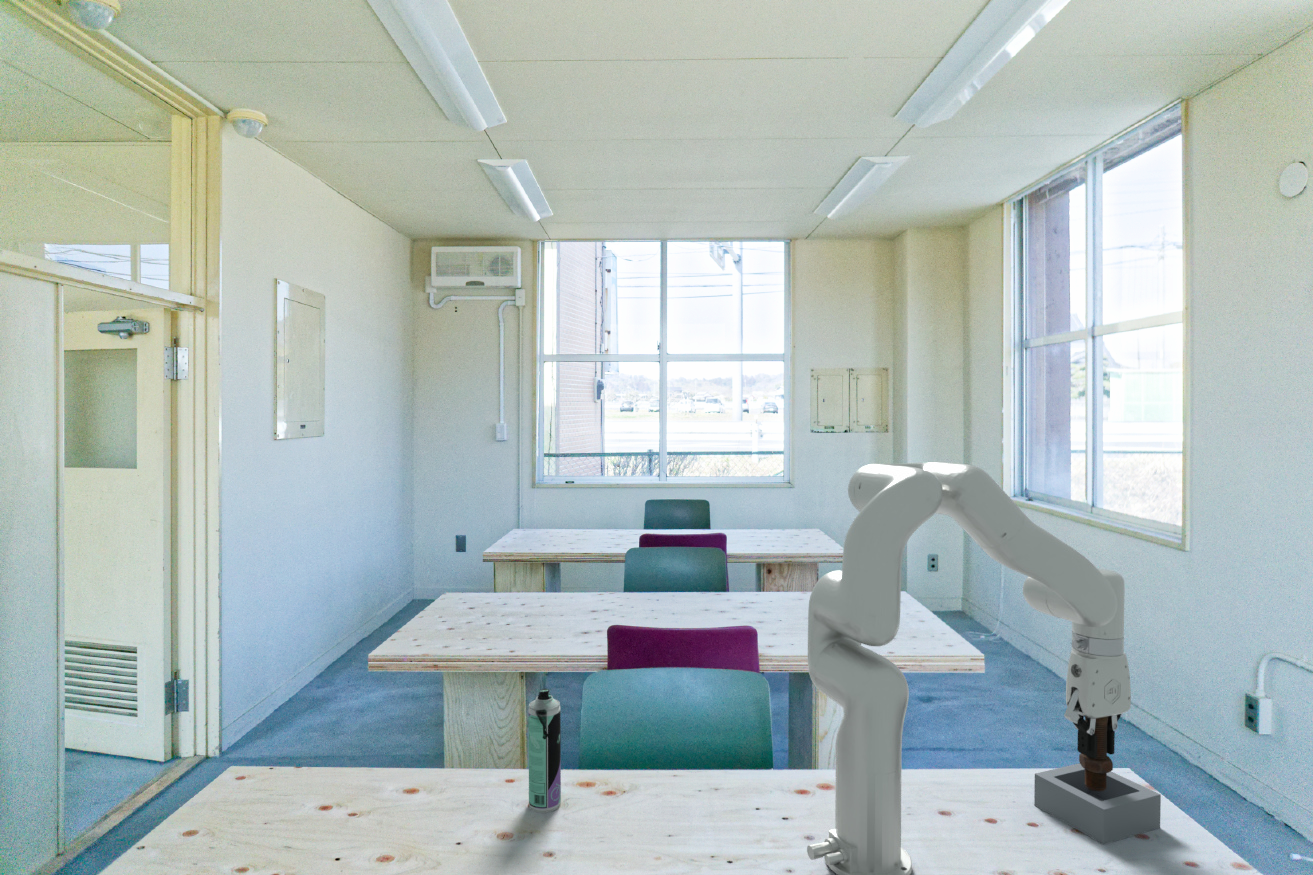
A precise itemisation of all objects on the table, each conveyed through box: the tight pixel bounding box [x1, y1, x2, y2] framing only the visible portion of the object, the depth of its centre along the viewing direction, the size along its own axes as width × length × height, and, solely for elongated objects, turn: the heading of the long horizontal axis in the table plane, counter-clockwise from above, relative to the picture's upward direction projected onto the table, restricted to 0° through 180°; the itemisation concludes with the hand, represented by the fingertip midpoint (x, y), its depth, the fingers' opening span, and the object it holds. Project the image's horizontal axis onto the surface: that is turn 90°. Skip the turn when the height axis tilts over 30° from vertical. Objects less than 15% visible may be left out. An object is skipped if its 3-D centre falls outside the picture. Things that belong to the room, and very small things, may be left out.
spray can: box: [527, 688, 562, 814], centre depth 131 cm, size 6×6×20 cm
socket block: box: [1033, 762, 1162, 845], centre depth 127 cm, size 13×13×6 cm
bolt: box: [1078, 717, 1114, 792], centre depth 127 cm, size 6×5×15 cm
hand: (1095, 752), depth 127 cm, fingers closed on bolt, 3 cm apart
